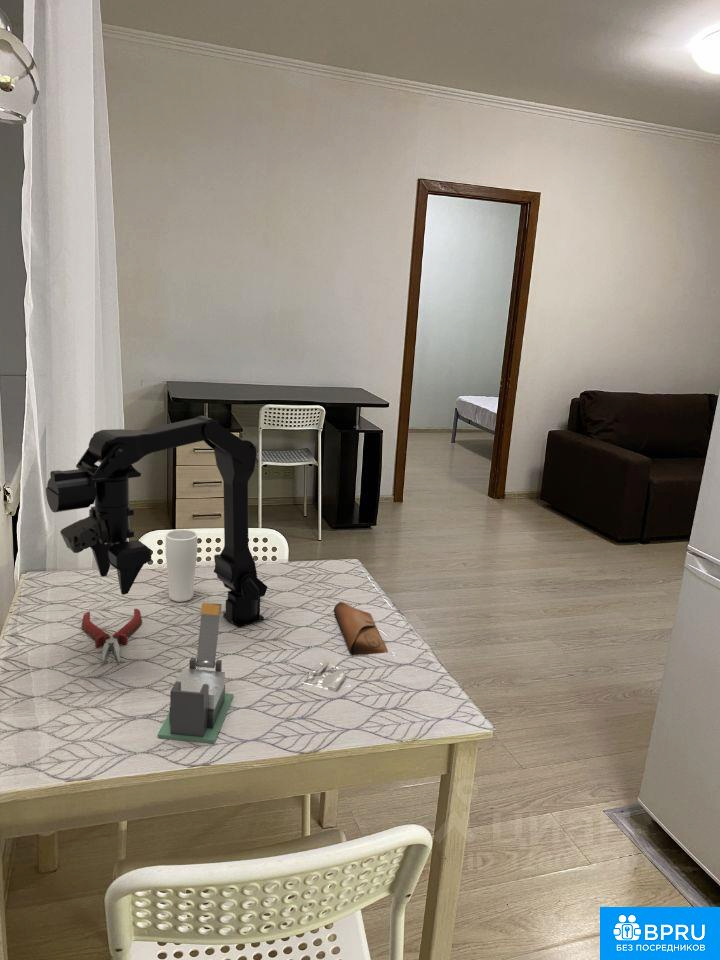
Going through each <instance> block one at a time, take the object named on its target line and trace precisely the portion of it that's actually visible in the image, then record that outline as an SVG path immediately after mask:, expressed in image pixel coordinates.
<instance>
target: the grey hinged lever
mask: <svg viewBox="0 0 720 960" xmlns="http://www.w3.org/2000/svg"><path fill="white" fill-rule="evenodd" d="M222 606H223V605H222V603H214V602H202V603H201V606H200V607H201V609H200V623H199V624H200V625H199V626H200V627H199V632H198V633H199V634H198V642H197V643H198V644H197V653H196V668H197V667H200V668H209V669H215V664H216V657H217V645H218V638H219V628H220V619H221V618H220V616H221V614H222Z"/></svg>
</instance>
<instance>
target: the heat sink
mask: <svg viewBox="0 0 720 960" xmlns="http://www.w3.org/2000/svg"><path fill="white" fill-rule="evenodd" d="M225 673H226V672H225V671H221V672H219V671H215V670H207V669H197V668H196V669H189V668H188V667H187V668H183V669H182V670H181V671H180V674H179V675H178V677H177V679H176V681H177V682H181V691H189V692H200V690H201V688H202V686H203V684H208V685H209V694H208V713H207V728H212V729H213V727H214V725H215V722H216V720H217V717H218V715H219V713H220V710H221V708H222V706H223V703H224V701H225V693H226V684H225V683H226V682H225V679H226V677H225V676H226V675H225ZM168 711H169V713H168V714H169V724H170V707H169V710H168Z"/></svg>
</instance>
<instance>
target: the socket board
mask: <svg viewBox="0 0 720 960" xmlns="http://www.w3.org/2000/svg"><path fill="white" fill-rule="evenodd" d="M196 661H197V657H190V659H189V666H188V667H189V668H188V669H197V666H196ZM222 662H223V660H220V659H217V660H215V667H214V669H215V670H214V671H219V672H222V665H223V664H222ZM169 691H170V692H169V694H170V702H169V703H170V706H169V708H170V724H169V713H168V715H167V716H166V718H165V720H164V722H163V723H162V725H161V727H160V728H159V731H158V733H157V734H156V735H157V739H164V740H175V741H185V742H197V743H205V744H206V743H207V744H215V743H216V740H217V738H218V737H219V734H218V733H220V731H221V728H222V726H223V723H224V721H225V718H226V716H227V714H228V711H229V708H230V706H231V704H232V701H233V698H234V694H233V693H228V692H225V701H224V703H223V706H222V708H221V710H220V713H219V715H218V717H217V720H216V722H215V725H214V727H213V729H212V728H207V713H208V694H209V685H208V684H203V686H202V688H201V690H200V692H189V691H181V682H177V680H175V683H174V684H173V686H172V688H171V690H169Z"/></svg>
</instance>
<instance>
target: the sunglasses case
mask: <svg viewBox="0 0 720 960" xmlns="http://www.w3.org/2000/svg"><path fill="white" fill-rule="evenodd" d="M333 614H334V617H335V618H336V622H337V623H338V626H339V628H340V631H341V632H342V636H343V638H344V641H345V643H346V646H347V648H348V651H349V652H350V654H351V655H352V656H361V655H375V654H376V655H377V654H385V653H389V650H388V648H387V645H386V643H385V641H384V639H383V637H382V635H381V634H380V631H379V630H378V628H377V625H376V623H375V621H374V618H373V617H372V614H371V613H370V612H367V611H365V610H361V609H358V608H355V607H353V606H352V605H350V604H348V603H345V602H343V601H339V602H338V603H336V605H335V606H334V608H333Z"/></svg>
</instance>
